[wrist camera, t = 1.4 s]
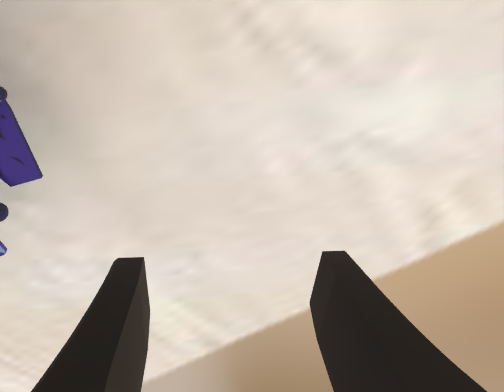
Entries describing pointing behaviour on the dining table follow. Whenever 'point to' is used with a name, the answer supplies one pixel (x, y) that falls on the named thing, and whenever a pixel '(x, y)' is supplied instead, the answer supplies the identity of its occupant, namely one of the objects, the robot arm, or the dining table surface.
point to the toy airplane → (13, 155)
